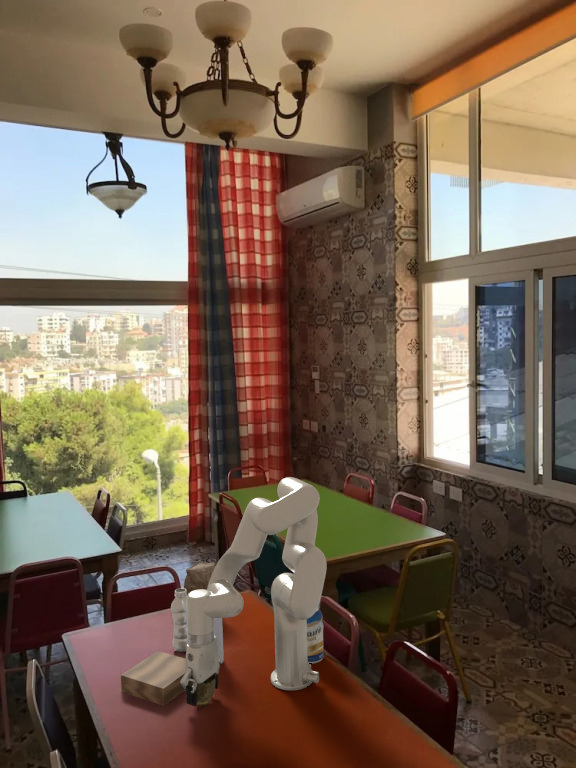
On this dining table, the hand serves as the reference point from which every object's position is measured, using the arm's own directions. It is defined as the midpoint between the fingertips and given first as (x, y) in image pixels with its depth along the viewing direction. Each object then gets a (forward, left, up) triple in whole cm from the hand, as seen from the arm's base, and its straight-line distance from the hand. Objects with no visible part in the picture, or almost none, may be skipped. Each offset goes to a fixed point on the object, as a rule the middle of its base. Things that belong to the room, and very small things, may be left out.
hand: (202, 695), depth 176 cm
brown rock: (+31, -42, -3) cm, 52 cm away
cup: (0, 0, -3) cm, 3 cm away
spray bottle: (+11, -20, -3) cm, 23 cm away
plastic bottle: (+25, -22, -3) cm, 33 cm away
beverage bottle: (-15, -36, -3) cm, 39 cm away
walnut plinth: (+17, -2, -2) cm, 17 cm away
